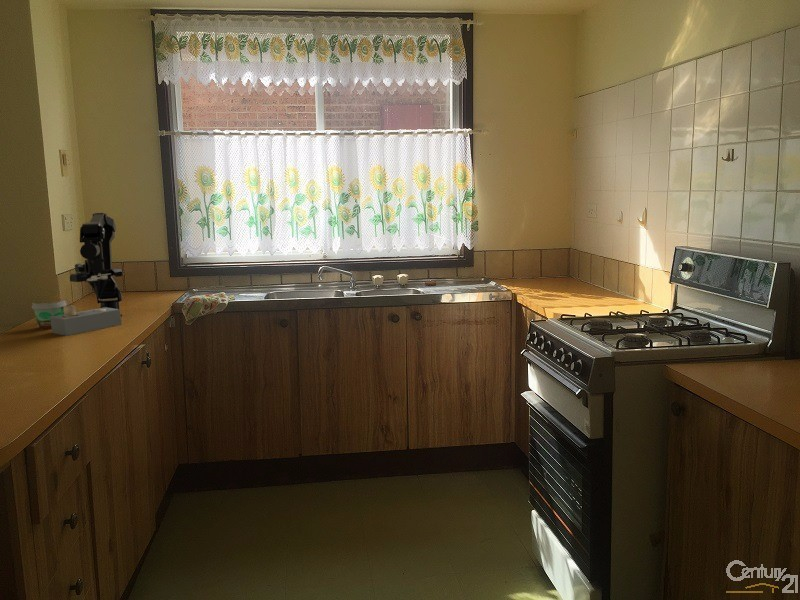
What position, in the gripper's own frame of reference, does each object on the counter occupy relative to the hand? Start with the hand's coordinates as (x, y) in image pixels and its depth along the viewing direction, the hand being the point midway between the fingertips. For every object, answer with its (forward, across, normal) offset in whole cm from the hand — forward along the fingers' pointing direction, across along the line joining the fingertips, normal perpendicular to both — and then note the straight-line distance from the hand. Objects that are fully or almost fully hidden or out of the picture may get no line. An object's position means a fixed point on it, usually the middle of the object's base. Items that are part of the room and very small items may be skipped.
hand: (99, 297), depth 272 cm
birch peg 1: (+8, +12, 0) cm, 14 cm away
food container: (+11, +12, -15) cm, 22 cm away
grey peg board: (+11, +6, 0) cm, 12 cm away
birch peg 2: (+11, 0, 0) cm, 11 cm away
